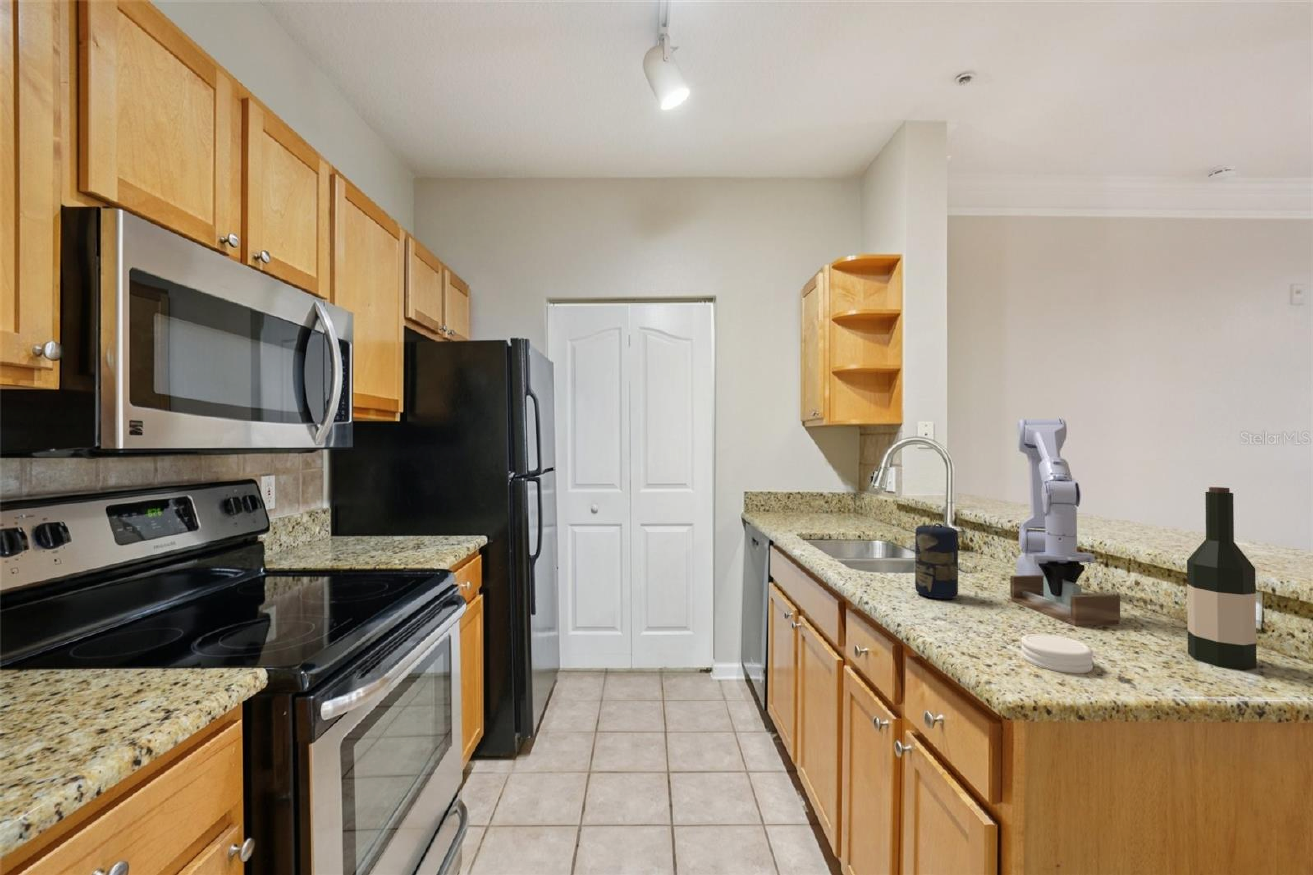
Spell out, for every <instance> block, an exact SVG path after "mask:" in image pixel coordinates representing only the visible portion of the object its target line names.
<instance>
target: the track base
mask: <svg viewBox="0 0 1313 875" xmlns="http://www.w3.org/2000/svg"><path fill="white" fill-rule="evenodd" d="M1043 577H1045V575H1020V576H1017V575H1010V576H1009V578H1010V579H1009V583H1010V584H1009V585H1010V587H1009V589H1010V590H1009V591H1010V592H1009V593H1010V601H1011V602H1012V603H1015V604H1017V605H1020V606H1023V607H1025V608H1028V609H1030V610H1032V611H1036V612H1039V613H1040V614H1043V615H1046V616H1049V617H1052V618H1054V619H1056V620H1059V621H1062V622H1064V623H1066V624H1068V625H1071V626H1074V627H1081V626H1112V625H1113V626H1114V625H1118V626H1119V625H1120V621H1121V596H1120V595H1118V594H1111V593H1110V594H1108V593H1107V594H1081V595H1070V598H1071V607H1070V606H1068V605H1065V604H1062V603H1059V602H1056V601H1053V600H1051V599H1048V598H1045V597H1044V583H1043Z"/></svg>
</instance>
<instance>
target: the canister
mask: <svg viewBox="0 0 1313 875" xmlns="http://www.w3.org/2000/svg"><path fill="white" fill-rule="evenodd" d="M914 539H915V540H914V542H915V546H914V550H915V551H914V564H915V565H914V581H915V582H914V585H915V587H914V588H915V591H916V592H917V593H918V594H920V595H922V596H925V597H929V598H935V599H953V598H955V597H957V596H958V595H959V532H958V530H957V529H956V528H954V527H951V526H944V525H942V524H941V523H939V522H936V523H934V524H933V525H932V524H931V525H930V524H927V525H925V524H924V525H923V524H922V525H919V526H917V527H916V528H915V538H914Z"/></svg>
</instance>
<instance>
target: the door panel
mask: <svg viewBox="0 0 1313 875" xmlns="http://www.w3.org/2000/svg"><path fill="white" fill-rule="evenodd" d="M1043 583H1044V597H1045V598H1048V599H1051V600H1053V601H1056V602H1059V603H1062V604H1065V605H1068V606H1070V607H1071V598H1070V595H1082V585H1081V584H1079V583H1076V584H1075V583H1072V582H1069V581H1065V580H1063V581H1062V594H1061V597H1058V596H1055V595H1052V594H1051V592H1050V588H1049V585H1048V582H1047V579H1046V577H1043Z"/></svg>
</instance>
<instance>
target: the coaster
mask: <svg viewBox="0 0 1313 875" xmlns="http://www.w3.org/2000/svg"><path fill="white" fill-rule="evenodd" d="M1020 641H1021V646H1020V648H1021V656H1022V658H1023V659H1024V660H1025V661H1026V662H1028V663H1029V664H1031V665H1034V666H1036V667H1039V668H1041V669H1042V668H1043V669H1046V670H1048V671H1049V670H1050V671H1053V672H1060V673H1067V674H1086V673H1090V672H1091V671H1092V670H1093V668H1094V666H1093V662H1094V660H1093V655H1094V652H1093V650H1092V648H1091V647H1090V646H1089V645H1087V644H1085V643H1084V642H1081V641H1078V640H1076V639H1072V638H1068V637H1065V636H1061V635H1060V636H1059V635H1053V634H1047V633H1028V634H1025V635H1024V636H1022V637H1021V639H1020Z"/></svg>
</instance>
